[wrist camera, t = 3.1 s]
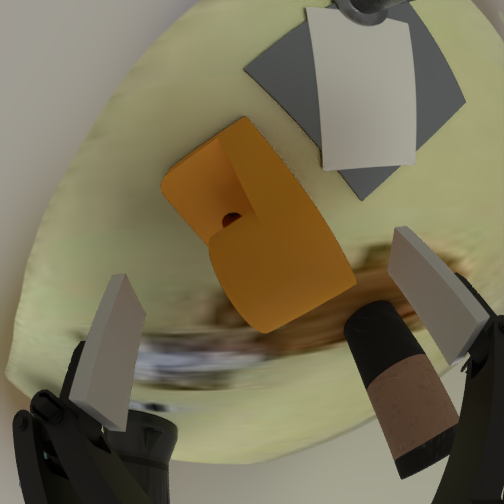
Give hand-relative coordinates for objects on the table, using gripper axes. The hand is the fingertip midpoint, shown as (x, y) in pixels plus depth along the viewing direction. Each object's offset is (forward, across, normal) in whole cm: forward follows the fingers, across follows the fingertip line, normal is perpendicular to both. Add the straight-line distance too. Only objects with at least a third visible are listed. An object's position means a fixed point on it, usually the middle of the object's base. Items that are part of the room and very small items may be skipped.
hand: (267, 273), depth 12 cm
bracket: (+10, 0, 0) cm, 10 cm away
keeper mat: (+10, -11, -8) cm, 17 cm away
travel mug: (+10, -13, +18) cm, 24 cm away
